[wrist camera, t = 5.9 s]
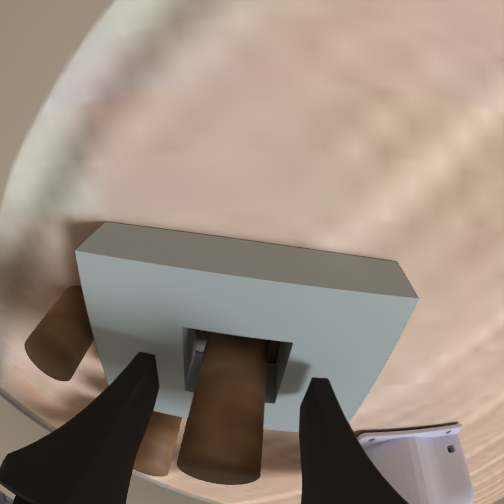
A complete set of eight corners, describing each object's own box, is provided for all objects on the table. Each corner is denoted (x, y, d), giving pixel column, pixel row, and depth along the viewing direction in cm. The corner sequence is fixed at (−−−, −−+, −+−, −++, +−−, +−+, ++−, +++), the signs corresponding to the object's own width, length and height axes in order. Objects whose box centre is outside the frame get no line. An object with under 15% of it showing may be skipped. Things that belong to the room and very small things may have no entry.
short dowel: (102, 291, 14) (62, 348, 10) (110, 330, 15) (78, 387, 12) (60, 281, 14) (17, 332, 10) (70, 320, 15) (35, 371, 12)
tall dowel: (273, 311, 14) (267, 463, 7) (263, 352, 15) (253, 488, 9) (213, 301, 14) (175, 448, 7) (209, 343, 15) (178, 476, 9)
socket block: (397, 262, 12) (418, 298, 10) (337, 397, 16) (341, 433, 14) (105, 221, 12) (74, 250, 10) (128, 367, 16) (114, 400, 14)
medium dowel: (184, 390, 17) (165, 464, 13) (186, 413, 18) (170, 479, 14) (142, 382, 17) (116, 451, 13) (148, 405, 18) (126, 468, 14)
